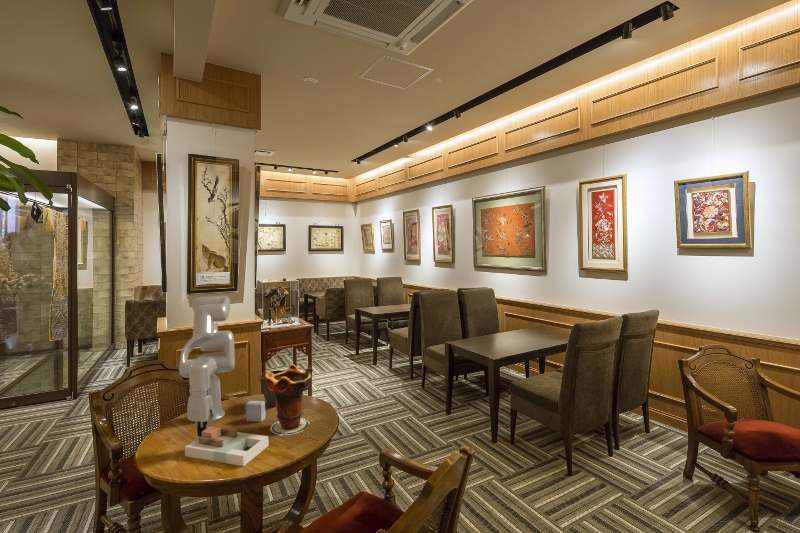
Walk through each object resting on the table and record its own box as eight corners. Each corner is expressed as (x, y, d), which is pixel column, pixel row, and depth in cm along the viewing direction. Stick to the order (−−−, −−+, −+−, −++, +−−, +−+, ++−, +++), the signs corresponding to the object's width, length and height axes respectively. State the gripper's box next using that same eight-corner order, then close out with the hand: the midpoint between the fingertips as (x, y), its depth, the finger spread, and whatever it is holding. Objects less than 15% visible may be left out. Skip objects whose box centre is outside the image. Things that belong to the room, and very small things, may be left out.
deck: (185, 456, 159) (184, 446, 159) (214, 437, 175) (213, 428, 174) (243, 466, 151) (243, 456, 151) (268, 445, 167) (268, 436, 166)
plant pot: (268, 397, 219) (267, 369, 218) (294, 399, 217) (293, 370, 216) (255, 409, 204) (254, 379, 203) (282, 410, 202) (281, 379, 201)
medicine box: (265, 418, 194) (265, 400, 193) (261, 422, 189) (261, 404, 189) (250, 417, 194) (249, 400, 194) (246, 421, 190) (245, 404, 189)
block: (202, 441, 163) (201, 431, 163) (211, 435, 168) (210, 426, 168) (211, 442, 162) (211, 433, 162) (220, 436, 167) (220, 427, 166)
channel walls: (199, 443, 161) (198, 437, 161) (215, 433, 170) (215, 427, 170) (221, 447, 158) (221, 441, 158) (237, 436, 167) (236, 430, 167)
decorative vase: (322, 416, 193) (319, 361, 190) (297, 441, 171) (293, 379, 168) (285, 412, 199) (282, 358, 196) (257, 435, 177) (252, 376, 174)
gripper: (178, 394, 164) (180, 437, 165) (207, 397, 159) (209, 441, 160) (193, 388, 171) (194, 429, 172) (221, 391, 166) (223, 433, 167)
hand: (202, 435), depth 166 cm, fingers closed
